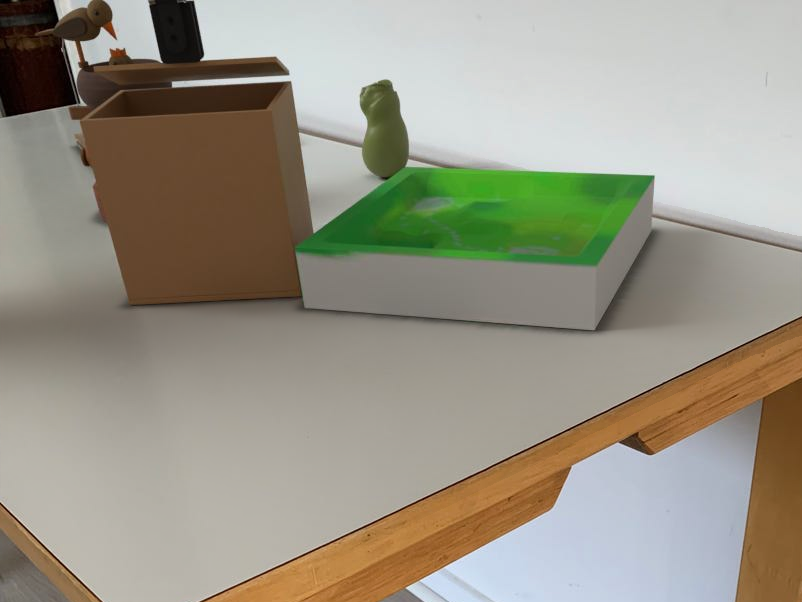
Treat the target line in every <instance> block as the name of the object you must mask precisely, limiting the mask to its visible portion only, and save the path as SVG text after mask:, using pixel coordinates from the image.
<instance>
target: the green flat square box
mask: <svg viewBox="0 0 802 602" xmlns="http://www.w3.org/2000/svg"><path fill="white" fill-rule="evenodd" d="M655 178H656V176H655V175H653V174H627V173H626V174H625V173H623V174H621V173H595V172H593V173H592V172H570V171H569V172H568V171H567V172H565V171H538V170H537V171H535V170H507V169H483V168H481V169H480V168H479V169H478V168H454V167H453V168H451V167H450V168H449V167H447V168H446V167H420V166H419V167H418V166H405V168H403V169H402V170H400V171H399V172H398V173H396V174H395V175H394V176H392V177H388V179H386V180H385V181H383V182H382V183H381V184H380V185H378V186H376V188H374V189H373V190H371V191H370V192H369V193H367V194H366V195H365V196H363V197H362V198H360V199H359V200H357V201H356V202H355V203H353V204H352V205H351V206H350V207H348V208H347V209H345V210H344V211H342V212H341V213H340V214H339V215H337V216H336V217H335V218H333V219H331V220H330V221H329V222H327V223H326V224H325V225H323V226H322V227H321V228H319V229H318V230H316V231H315V232H314V234H312V235H311V236H310V237H308V238H307V239H306V240H304V241H303V242H301V243H300V244H299V245H297V246H296V247H295V252H296V258H297V264H298V270H299V276H300V282H301V289H302V295H301V296H302V300H303V307H304V309H312V310H327V311H337V312H338V311H339V312H340V311H341V312H352V313H363V314H364V313H366V314H377V315H378V314H380V315H391V316H404V317H415V318H417V317H418V318H427V319H429V318H430V319H442V320H443V319H444V320H455V321H456V320H457V321H466V322H467V321H469V322H481V323H495V324H496V323H497V324H507V325H520V326H530V327H531V326H533V327H534V326H535V327H545V328H559V329H572V330H584V331H585V330H586V331H595V330H596V329H597V326H598V325H599V324H600V321H602V318H603V316H604V314H605V313H606V311H607V310H608V308H609V306H610V304H611V303H612V300H613V299H614V297H615V296H616V293H617V291H618V290H619V288H620V286H621V285H622V283H623V281H624V280H625V278H626V276H627V274H628V272H629V271H630V269H631V267H632V265H633V264H634V262H635V260H636V259H637V257H638V255H639V253H640V252H641V250H642V248H643V246H644V245H645V243H646V241H647V239H648V237H649V236H650V234H651V232H652V228H653V227H652V226H653V225H652V224H653V211H654V209H653V207H654V194H655Z"/></svg>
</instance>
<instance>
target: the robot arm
mask: <svg viewBox="0 0 802 602" xmlns="http://www.w3.org/2000/svg"><path fill="white" fill-rule="evenodd" d="M147 3H148V4H149V5H148V7H149V12H150V16H151V23H152V26H153V30H154V35H155V40H156V44H157V49H158V53H159V58H160V61H161V63H164V64H177V63H195V62H199V61H202V60H203V59H204V57H205V50H204V45H203V40H202V34H201V30H200V29H201V28H200V24H199V19H198V14H197V13H198V12H197V8H196V3H195V0H147Z"/></svg>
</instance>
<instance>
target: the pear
mask: <svg viewBox="0 0 802 602" xmlns="http://www.w3.org/2000/svg"><path fill="white" fill-rule="evenodd" d="M393 86H394V85H393V82H392V81H391V80H390V79H387V78H386V79H385V78H384V79H381V80H378V81H377V82H374V83H371V84H368V85H366V86H363V87H361V88H360V89H361V90H360V93H359V107H360V110H361V112H362V114H363V115H364V116H365V118H366V122H367V123H366V130H365V134H364V137H363V141H362V146H361V157H362V160H363V163H364V165H365V167H366V168H367V170H368V171H369V172H370V173H372V174H373V175H375V176H377V177H379V178H391V177H392V176H394V175H395V174H396V173H398V172H399V171H400V170H402V169H403V168H405V167H407V164H408V162H409V158H410V157H409V156H410V141H409V134H408V129H407V126H406V123H405V121H404V119H403V116H402V114H401V100H400V98H399V95H398V92H397V90H395V89H394V87H393Z"/></svg>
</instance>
